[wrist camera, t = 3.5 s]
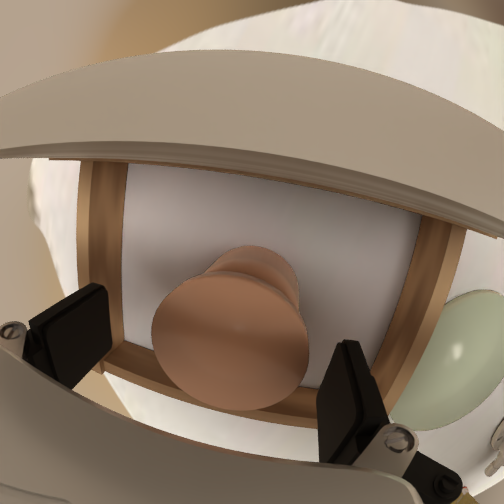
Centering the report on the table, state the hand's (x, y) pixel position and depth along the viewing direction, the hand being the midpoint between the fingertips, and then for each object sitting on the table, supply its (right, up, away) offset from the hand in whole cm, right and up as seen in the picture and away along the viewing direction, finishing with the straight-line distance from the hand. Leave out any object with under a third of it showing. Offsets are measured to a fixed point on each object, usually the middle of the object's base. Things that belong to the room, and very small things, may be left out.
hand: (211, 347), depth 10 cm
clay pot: (+1, +1, +6) cm, 7 cm away
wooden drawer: (+1, +1, +6) cm, 7 cm away
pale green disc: (+18, -5, +5) cm, 19 cm away
